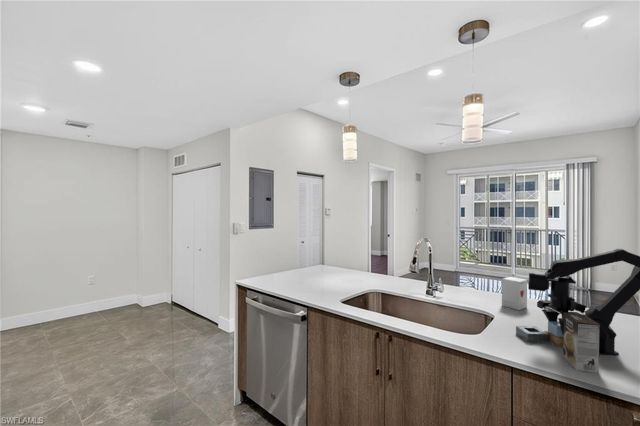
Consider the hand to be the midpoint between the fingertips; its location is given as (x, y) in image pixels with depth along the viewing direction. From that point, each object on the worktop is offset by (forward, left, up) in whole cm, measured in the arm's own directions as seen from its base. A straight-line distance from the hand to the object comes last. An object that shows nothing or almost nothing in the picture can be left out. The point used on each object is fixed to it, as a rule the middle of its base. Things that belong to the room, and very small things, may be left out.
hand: (559, 332), depth 119 cm
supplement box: (+44, -7, -4) cm, 45 cm away
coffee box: (-17, +5, -4) cm, 18 cm away
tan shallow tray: (0, 0, -4) cm, 4 cm away
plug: (0, 0, -4) cm, 4 cm away
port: (+4, +8, -4) cm, 10 cm away
